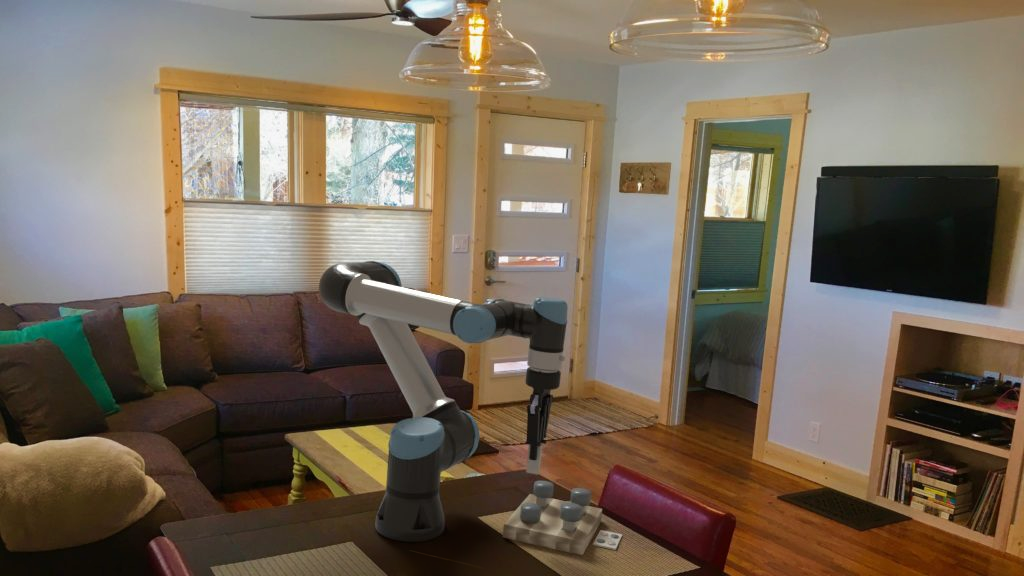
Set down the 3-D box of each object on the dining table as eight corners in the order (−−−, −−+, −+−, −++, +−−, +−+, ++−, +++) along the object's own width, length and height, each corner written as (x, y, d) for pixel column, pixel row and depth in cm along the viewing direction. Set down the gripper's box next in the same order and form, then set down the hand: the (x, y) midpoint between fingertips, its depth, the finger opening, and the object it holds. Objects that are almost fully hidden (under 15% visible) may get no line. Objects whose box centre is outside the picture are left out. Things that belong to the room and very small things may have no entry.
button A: (515, 533, 166) (518, 508, 166) (522, 525, 171) (524, 501, 170) (535, 537, 165) (538, 512, 164) (541, 529, 169) (543, 505, 169)
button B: (529, 508, 175) (531, 485, 175) (535, 502, 180) (537, 479, 179) (548, 512, 174) (550, 489, 174) (553, 506, 178) (555, 483, 178)
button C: (555, 533, 163) (558, 508, 163) (561, 525, 168) (563, 501, 167) (576, 537, 162) (579, 512, 161) (581, 529, 166) (583, 505, 166)
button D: (566, 516, 173) (569, 493, 172) (571, 509, 177) (573, 486, 177) (586, 521, 171) (588, 497, 171) (590, 513, 176) (593, 490, 175)
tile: (593, 545, 164) (593, 542, 164) (600, 531, 172) (600, 529, 172) (615, 550, 163) (615, 547, 163) (621, 536, 170) (622, 533, 170)
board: (502, 537, 164) (503, 524, 164) (528, 505, 183) (529, 493, 183) (582, 555, 159) (584, 541, 159) (601, 521, 178) (602, 508, 178)
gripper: (552, 376, 157) (540, 485, 159) (567, 366, 169) (556, 467, 172) (518, 371, 159) (507, 478, 161) (536, 360, 171) (525, 460, 174)
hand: (532, 472), depth 166 cm, fingers closed
